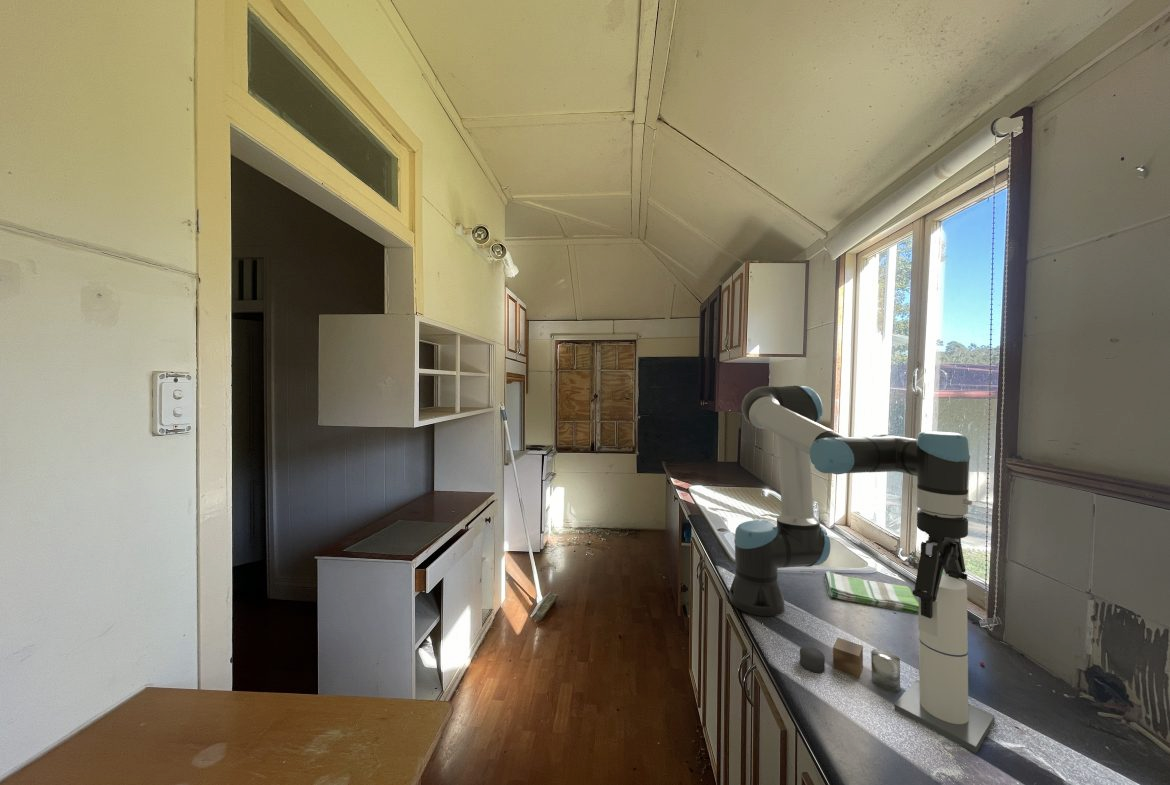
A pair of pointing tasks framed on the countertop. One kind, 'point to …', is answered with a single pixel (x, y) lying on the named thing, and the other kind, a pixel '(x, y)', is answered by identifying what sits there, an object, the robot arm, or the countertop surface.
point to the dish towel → (871, 593)
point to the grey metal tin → (885, 670)
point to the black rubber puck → (812, 660)
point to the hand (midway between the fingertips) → (940, 620)
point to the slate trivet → (961, 734)
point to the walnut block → (848, 657)
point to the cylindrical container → (946, 656)
